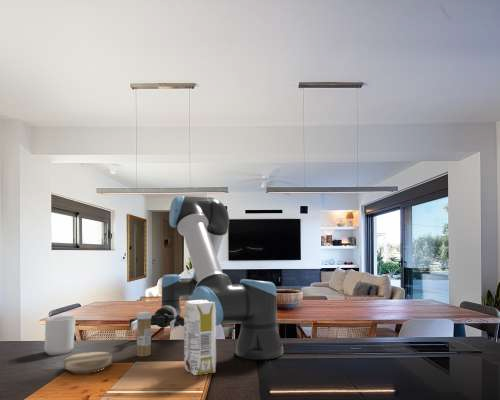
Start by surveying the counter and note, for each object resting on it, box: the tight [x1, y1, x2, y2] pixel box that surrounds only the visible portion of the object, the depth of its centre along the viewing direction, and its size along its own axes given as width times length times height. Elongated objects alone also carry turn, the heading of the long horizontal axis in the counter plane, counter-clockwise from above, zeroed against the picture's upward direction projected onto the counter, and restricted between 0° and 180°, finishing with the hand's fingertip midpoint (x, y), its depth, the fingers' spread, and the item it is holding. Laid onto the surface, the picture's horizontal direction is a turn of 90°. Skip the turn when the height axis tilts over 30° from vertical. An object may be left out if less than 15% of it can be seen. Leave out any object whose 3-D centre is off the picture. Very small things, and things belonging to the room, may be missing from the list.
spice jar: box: [136, 311, 152, 358], centre depth 132 cm, size 5×5×13 cm
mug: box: [44, 315, 76, 356], centre depth 139 cm, size 12×9×11 cm
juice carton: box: [183, 299, 217, 376], centre depth 114 cm, size 8×9×19 cm
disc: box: [63, 351, 113, 375], centre depth 117 cm, size 13×13×3 cm
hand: (151, 326), depth 141 cm, fingers open, 13 cm apart
